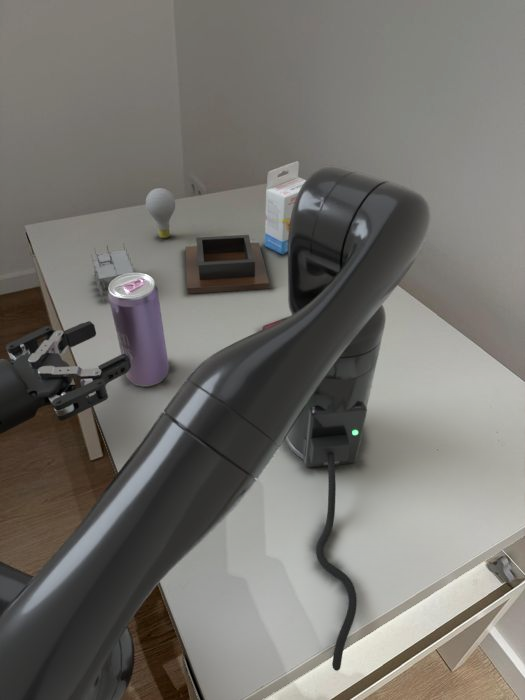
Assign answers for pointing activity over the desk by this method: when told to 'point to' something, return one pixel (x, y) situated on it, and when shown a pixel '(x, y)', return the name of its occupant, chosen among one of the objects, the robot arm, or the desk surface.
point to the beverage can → (139, 327)
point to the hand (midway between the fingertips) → (110, 343)
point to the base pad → (225, 265)
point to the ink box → (280, 205)
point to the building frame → (111, 266)
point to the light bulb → (161, 209)
